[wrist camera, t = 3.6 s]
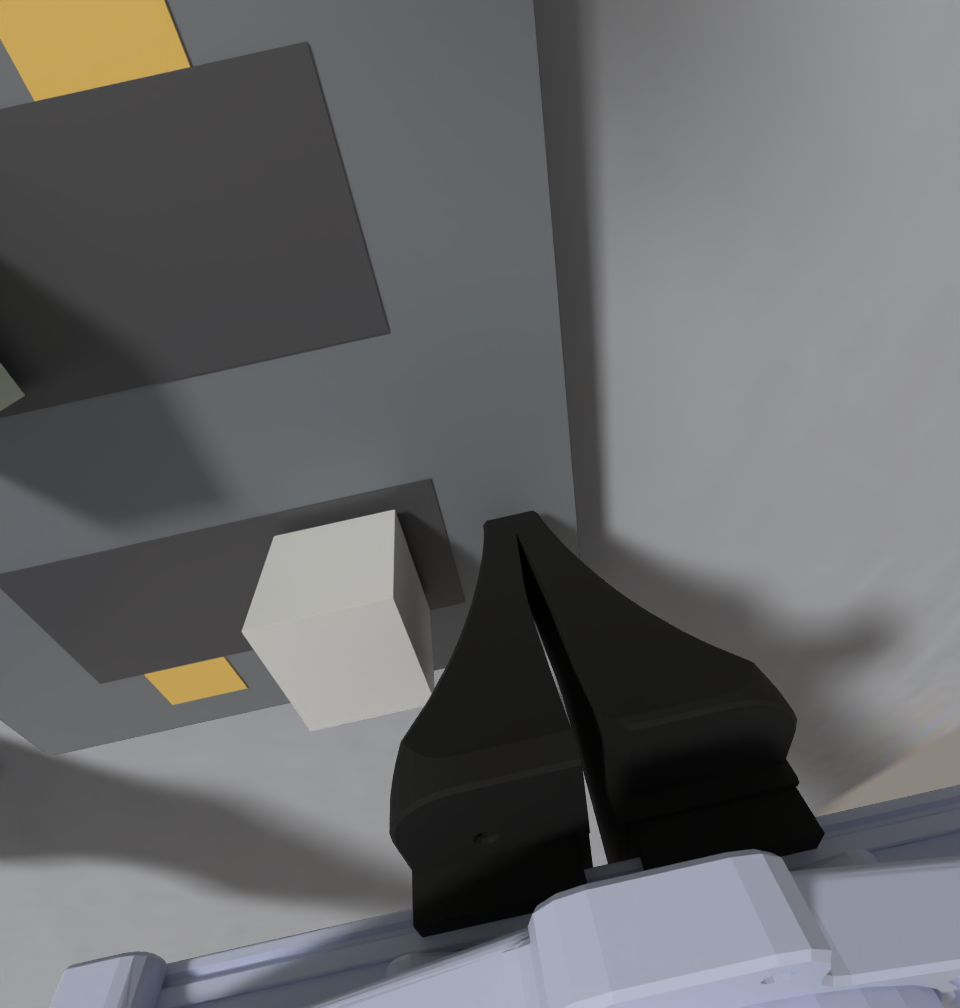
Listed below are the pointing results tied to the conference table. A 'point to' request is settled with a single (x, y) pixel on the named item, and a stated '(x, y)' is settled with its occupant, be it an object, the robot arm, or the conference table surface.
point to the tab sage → (8, 389)
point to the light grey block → (344, 621)
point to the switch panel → (258, 328)
